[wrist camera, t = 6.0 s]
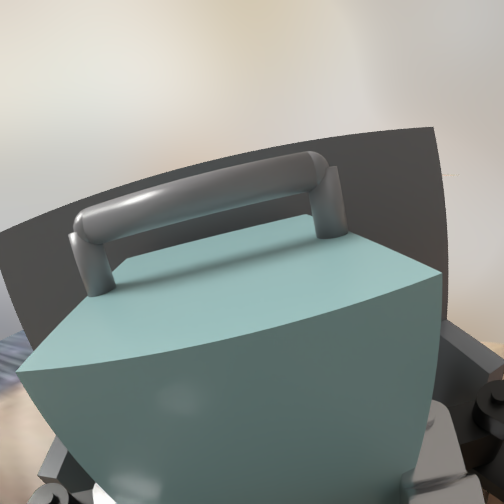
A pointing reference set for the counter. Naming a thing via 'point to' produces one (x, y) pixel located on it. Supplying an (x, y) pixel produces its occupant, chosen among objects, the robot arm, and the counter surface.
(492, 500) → the dish
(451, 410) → the robot arm
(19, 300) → the screen
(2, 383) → the counter surface
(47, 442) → the counter surface
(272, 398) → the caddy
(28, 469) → the counter surface
